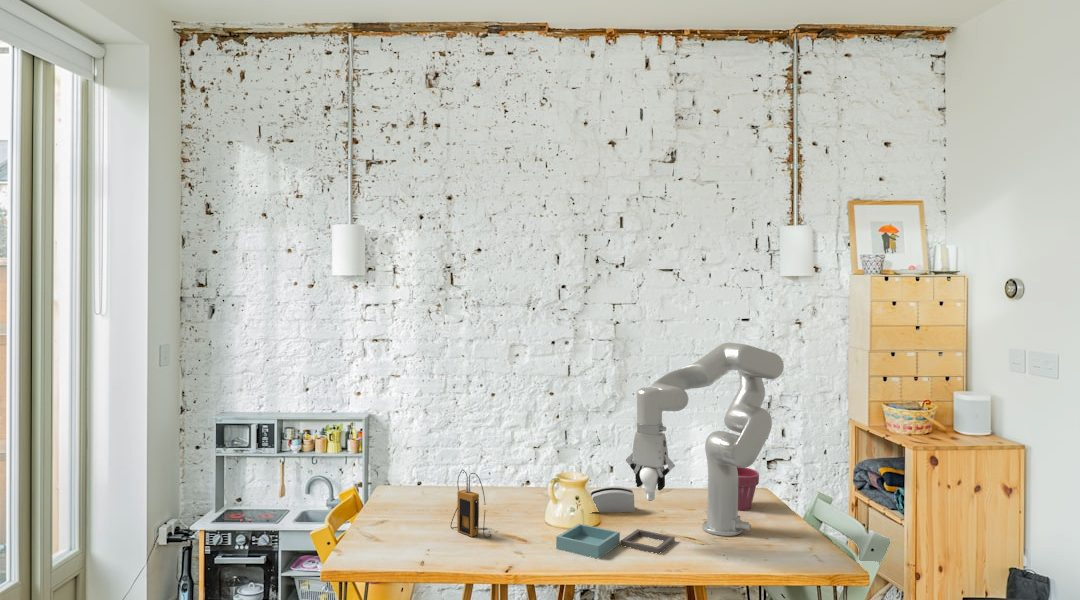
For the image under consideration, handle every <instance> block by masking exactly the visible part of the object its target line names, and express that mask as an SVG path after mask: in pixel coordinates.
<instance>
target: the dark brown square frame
mask: <svg viewBox="0 0 1080 600" xmlns="http://www.w3.org/2000/svg"><path fill="white" fill-rule="evenodd" d="M639 536H640V537H644V538H648V537H649V538H650V539H653V540H657V539H659V540H658V541H662V540H663V542H661V543H660V544H659V545H658V546H654V545H649V544H648V545H647V544H644V543H639V542H634V540H635V539H637V538H638V537H639ZM636 537H637V538H636ZM649 538H648V539H649ZM675 539H676V537H675V536H673V535H667V534H662V533H659V532H658V533H657V532H653V531H648V530H643V529H639V528H637V529H636V530H634V531H632V532H631V533H630V534H628V535H626V537H624V538H623V539H620V544H619V546H620V545H622V546H621V547H624V546H626V547H625V548H628V547H631V548H630V549H633V548H634V550H637V549H639V551H642V550H643V552H646V551H648V552H647V553H651V552H653V553H652V554H655V553H657V554H656V555H660V554H661V553H662V552H663V550H664V549H665V550H666V549H668V548H669V547H670V546H671V545H673V544H674V543H675V542H676V541H675ZM673 542H674V543H673ZM669 545H670V546H669ZM668 546H669V547H668ZM665 550H664V551H665ZM660 552H661V553H660ZM659 553H660V554H659Z"/></svg>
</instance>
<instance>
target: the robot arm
mask: <svg viewBox="0 0 1080 600" xmlns="http://www.w3.org/2000/svg"><path fill="white" fill-rule="evenodd" d="M784 367H785V364H784V361H783V359H782V358H781V356H780V355H779V354H777V353H776V352H771V351H769V350H765V349H762V348H759V347H755V346H753V345H750V344H745V343H735V342H724V343H721V344H720V345H718V346H716V347H715V348H714V349H712V350H711V351H709V352H708V353H707V354H705V355H704V356H702V357H701V358H700V359H697V361H694V362H693V363H691V364H688V365H685V366H683V367H680V368H677V369H674V370H672V371H669V372H668V373H665V374H664V375H663V376H661V377H660V378H658V379H657V380H655V381H654V382H653V383H652V384H651V385H650V386H647V387H640V388H639V389H637V392H636V432H635V433H634V438H633V445H632V453H631V454H629V455H628V457H627V458H626V459H625V461H626V463H627V464H628V465H629V466H630V469H632V470H633V473H634V474H635V484H636V488H640V487H641V486H644V484H643V483H642V481H641V479H640V470H641V469H642V468H643V467H644V466H646V467H653V468H656V469H657V471H658V474H659V477H658V484H657V490H658V491H662V490H663V489H664V488H665V486H666V475H667V474H669V473H670V472H671V471H672V470H673V469H674V468H675V467H676V465H675V463H674V462H673V461H672V460H671V459H670V457H669V450H668V449H669V448H668V443H667V438H666V434H665V432H667V426H664V424H663V412H679V411H682V410H684V409H685V408H686V407H687V406H688V404H689V395H688V393H687V392H686V391H687V390H691V389H700V388H706V387H709V386H712V385H713V384H715V383H716V382H717V381H718V380H720V379H721V378H722V377H724V376H725V375H727V374H728V373H730V372H731V371H738V376H739V388H738V390H737V392H736V394H735V396H734V398H733V399H732V402H731V403H730V405H729V406H728V409H727V411H726V413H725V415H724V420H723V422H724V426H725V427H726V428H727V429H728V430H729V431H733V432H735V433H732V432H729V431H726V430H725V431H724V430H716V431H712V432H711V433H709V434H708V436H707V437H706V440H705V444H704V450H705V456H706V462H707V463H706V464H707V509H706V510H707V511H706V512H707V515H706V516H707V519H706V521H704V522H702V525H701V526H702V527H701V528H702V530H704V531H705V532H707V533H709V534H711V535H715V536H716V535H717V536H722V537H725V536H726V537H730V536H731V537H733V536H738V535H740V534H742V533H743V530H746V531H751V527H752V524H750V522H749V521H745V520H744V521H743V520H742V519H741V515H739V513H738V512H739V510H738V471H737V467H740V468H749V467H751V466H752V465H753V464H754V462H756V460H757V458H758V457H759V455H760V453H761V451H762V449H763V447H764V445H765V444H766V441H767V439H768V437H769V435H770V433H771V431H772V427H773V426H772V425H773V418H772V416H771V414H770V412H769V411H768V410H767V409H766V408H763V407H761V406H762V404H763V402H764V400H765V396H766V388H765V384H764V381H763V379H766V380H775V379H778V378H779V377H780V376H781V375H782V374H783V371H784ZM736 433H738V434H736ZM665 466H667V467H665Z"/></svg>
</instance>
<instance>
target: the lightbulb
mask: <svg viewBox="0 0 1080 600" xmlns="http://www.w3.org/2000/svg"><path fill="white" fill-rule="evenodd" d="M658 477H659V474H658V471H657V469H656V468H653V467H646V466H643V467H642V469H641V470H640V479H641V481H642V483H643V487H644V490H645V499H646V500H647V501H649V502H652V501H654V500H655V498H656V497H655V492H656V489H657V487H658Z"/></svg>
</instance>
